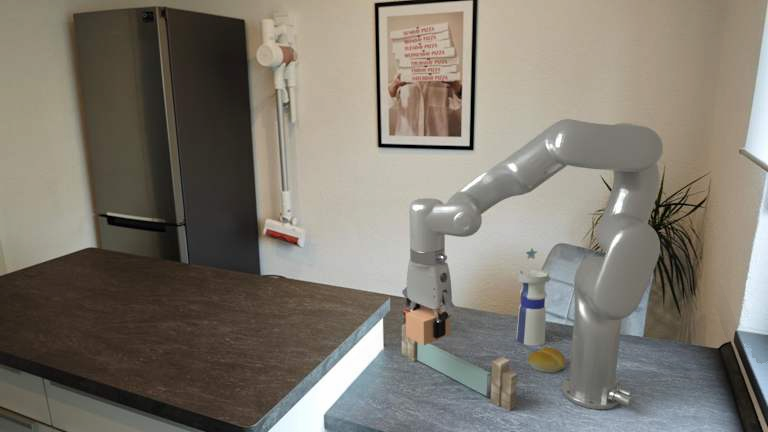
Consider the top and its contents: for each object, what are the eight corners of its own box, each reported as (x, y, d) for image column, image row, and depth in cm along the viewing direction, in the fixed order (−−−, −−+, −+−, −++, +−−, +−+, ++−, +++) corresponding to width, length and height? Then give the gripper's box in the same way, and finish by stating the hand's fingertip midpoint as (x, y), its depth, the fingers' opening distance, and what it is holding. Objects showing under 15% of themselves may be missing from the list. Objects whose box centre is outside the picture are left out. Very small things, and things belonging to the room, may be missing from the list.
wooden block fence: (516, 406, 116) (519, 364, 113) (508, 411, 114) (510, 369, 112) (408, 350, 141) (408, 315, 139) (400, 354, 139) (400, 318, 137)
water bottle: (507, 336, 149) (511, 250, 143) (531, 330, 152) (536, 246, 147) (526, 348, 142) (532, 258, 136) (552, 342, 145) (558, 254, 139)
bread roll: (521, 364, 134) (522, 349, 133) (545, 354, 139) (546, 340, 138) (547, 378, 127) (548, 363, 126) (572, 368, 132) (573, 353, 131)
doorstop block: (450, 334, 121) (450, 312, 120) (423, 345, 116) (423, 321, 115) (432, 326, 126) (432, 304, 124) (406, 336, 121) (405, 313, 120)
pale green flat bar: (496, 396, 119) (496, 375, 118) (490, 399, 118) (491, 378, 117) (421, 357, 136) (422, 339, 135) (416, 360, 135) (416, 341, 134)
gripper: (469, 260, 113) (468, 338, 117) (412, 244, 125) (413, 315, 129) (445, 268, 108) (445, 350, 112) (388, 251, 121) (390, 325, 125)
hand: (428, 331), depth 121 cm, fingers closed on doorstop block, 6 cm apart
